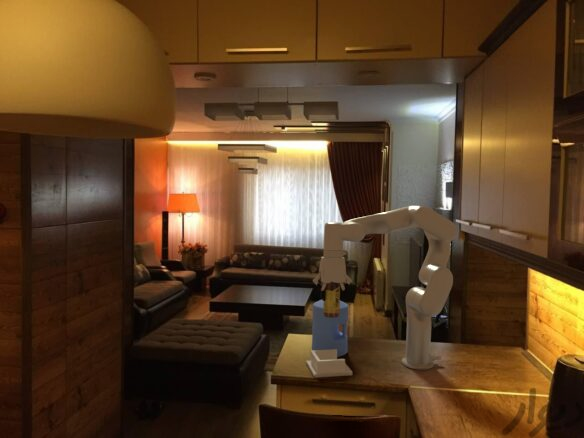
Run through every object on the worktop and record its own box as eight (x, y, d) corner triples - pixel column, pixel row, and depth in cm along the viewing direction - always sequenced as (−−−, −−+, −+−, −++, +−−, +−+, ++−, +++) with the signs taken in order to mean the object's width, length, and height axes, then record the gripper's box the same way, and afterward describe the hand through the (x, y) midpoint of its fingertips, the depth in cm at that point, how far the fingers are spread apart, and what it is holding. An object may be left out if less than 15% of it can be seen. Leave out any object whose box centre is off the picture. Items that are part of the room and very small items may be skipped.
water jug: (307, 355, 194) (308, 290, 193) (316, 344, 209) (317, 283, 208) (343, 360, 190) (345, 293, 188) (350, 348, 205) (351, 286, 203)
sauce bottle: (338, 319, 175) (340, 267, 174) (322, 317, 176) (323, 266, 175) (340, 314, 181) (341, 264, 180) (324, 313, 182) (325, 263, 181)
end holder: (341, 361, 188) (342, 348, 188) (352, 375, 175) (352, 360, 174) (306, 363, 186) (306, 349, 185) (314, 377, 172) (314, 362, 171)
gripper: (351, 252, 182) (350, 297, 184) (309, 252, 179) (308, 298, 180) (357, 255, 175) (356, 301, 176) (313, 255, 172) (312, 302, 173)
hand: (331, 299), depth 178 cm, fingers closed on sauce bottle, 6 cm apart
